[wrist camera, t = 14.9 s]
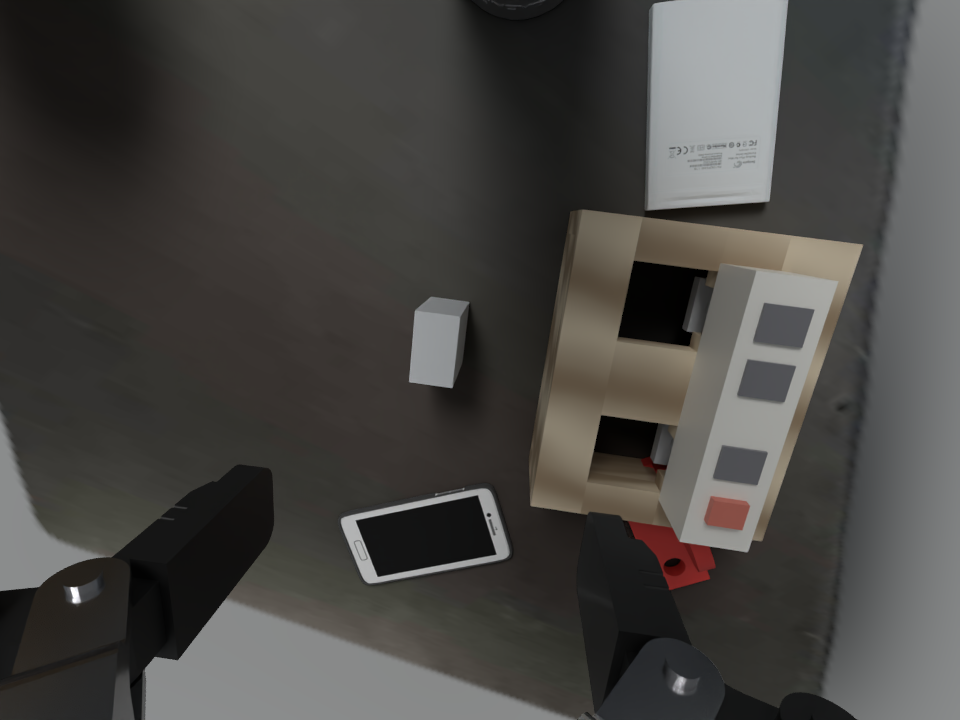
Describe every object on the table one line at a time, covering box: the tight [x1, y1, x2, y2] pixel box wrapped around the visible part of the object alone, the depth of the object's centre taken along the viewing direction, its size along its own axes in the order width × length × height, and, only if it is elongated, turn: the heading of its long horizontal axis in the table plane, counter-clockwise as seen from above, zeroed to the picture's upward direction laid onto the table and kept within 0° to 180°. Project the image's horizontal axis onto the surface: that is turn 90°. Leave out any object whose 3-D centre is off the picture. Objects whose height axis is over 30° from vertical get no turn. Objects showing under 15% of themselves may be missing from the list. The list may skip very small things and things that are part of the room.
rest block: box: [409, 297, 469, 388], centre depth 35 cm, size 5×3×6 cm, turn 173°
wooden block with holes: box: [529, 209, 863, 541], centre depth 34 cm, size 20×16×7 cm
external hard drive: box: [645, 0, 788, 211], centre depth 32 cm, size 2×8×12 cm
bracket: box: [628, 457, 715, 590], centre depth 37 cm, size 12×4×8 cm, turn 24°
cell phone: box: [338, 483, 513, 585], centre depth 43 cm, size 8×15×1 cm, turn 106°
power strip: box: [650, 263, 839, 552], centre depth 30 cm, size 16×4×9 cm, turn 173°
